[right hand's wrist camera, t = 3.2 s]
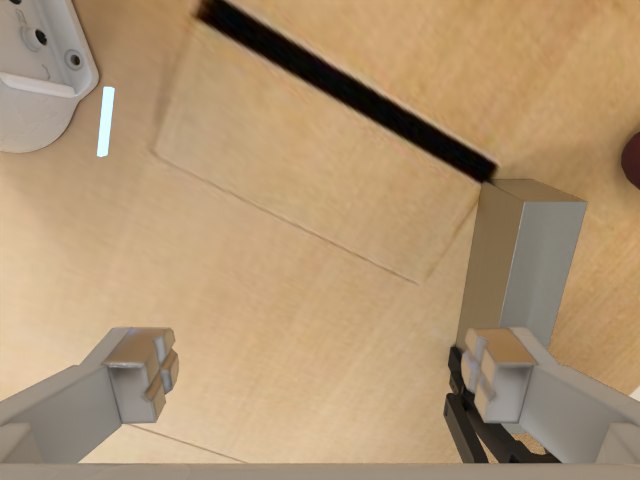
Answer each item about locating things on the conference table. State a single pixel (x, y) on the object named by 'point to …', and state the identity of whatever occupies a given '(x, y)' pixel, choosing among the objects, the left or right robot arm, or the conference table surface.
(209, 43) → the conference table surface
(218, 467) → the right robot arm
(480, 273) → the bar
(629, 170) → the potato
